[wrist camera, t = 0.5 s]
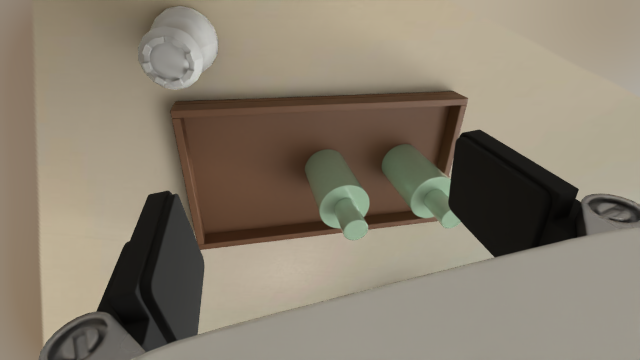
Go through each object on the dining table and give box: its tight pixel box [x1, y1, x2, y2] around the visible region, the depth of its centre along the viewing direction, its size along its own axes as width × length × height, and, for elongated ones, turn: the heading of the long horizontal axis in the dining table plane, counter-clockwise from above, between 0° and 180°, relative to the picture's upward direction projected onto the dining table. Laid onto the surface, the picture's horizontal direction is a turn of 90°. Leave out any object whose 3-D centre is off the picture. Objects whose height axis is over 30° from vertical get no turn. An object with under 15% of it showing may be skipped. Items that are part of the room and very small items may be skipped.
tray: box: [170, 91, 468, 250], centre depth 31 cm, size 13×24×2 cm, turn 88°
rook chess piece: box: [138, 6, 218, 90], centre depth 21 cm, size 4×4×8 cm
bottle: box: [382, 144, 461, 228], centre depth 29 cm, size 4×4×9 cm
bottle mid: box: [305, 149, 369, 240], centre depth 27 cm, size 4×4×9 cm
